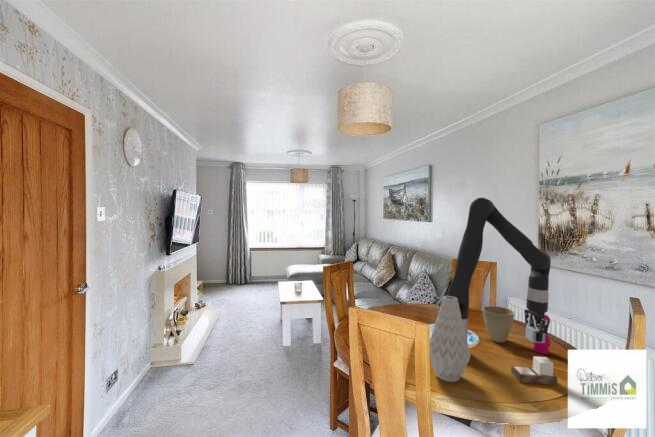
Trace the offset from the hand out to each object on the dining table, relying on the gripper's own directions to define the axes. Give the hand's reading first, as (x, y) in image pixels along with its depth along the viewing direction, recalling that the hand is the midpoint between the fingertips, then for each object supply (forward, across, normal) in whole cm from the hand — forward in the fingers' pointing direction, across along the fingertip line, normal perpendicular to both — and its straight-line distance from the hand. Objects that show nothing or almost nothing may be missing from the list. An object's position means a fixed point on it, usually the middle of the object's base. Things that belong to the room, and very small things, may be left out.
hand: (534, 338), depth 130 cm
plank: (+15, +5, -2) cm, 16 cm away
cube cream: (+12, +5, +1) cm, 13 cm away
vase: (+16, +7, -38) cm, 41 cm away
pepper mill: (+15, -22, +16) cm, 31 cm away
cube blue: (+1, 0, 0) cm, 1 cm away
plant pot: (+15, -33, +1) cm, 37 cm away
